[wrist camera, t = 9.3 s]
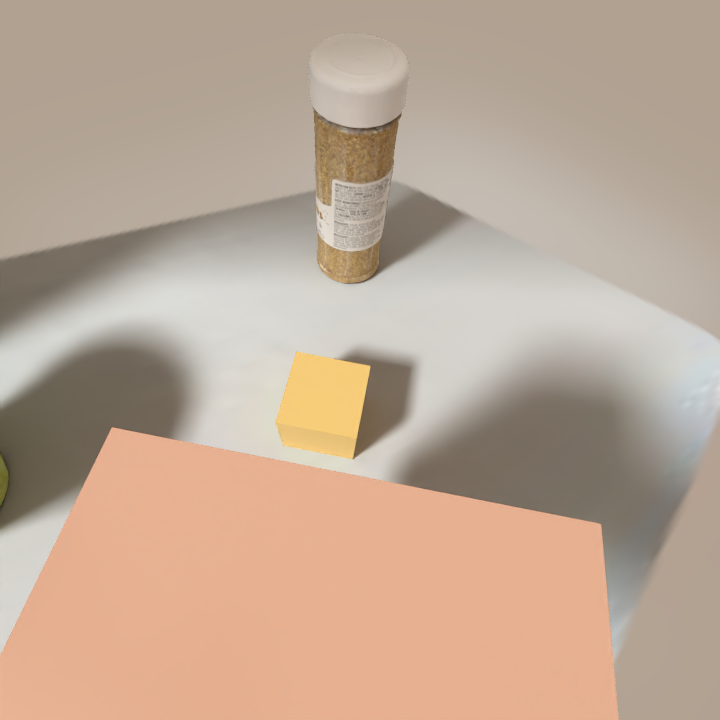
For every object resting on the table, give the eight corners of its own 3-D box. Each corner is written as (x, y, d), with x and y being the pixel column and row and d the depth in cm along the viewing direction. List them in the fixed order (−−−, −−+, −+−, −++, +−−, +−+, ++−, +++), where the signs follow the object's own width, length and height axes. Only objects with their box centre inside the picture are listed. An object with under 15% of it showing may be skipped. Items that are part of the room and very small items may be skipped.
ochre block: (283, 445, 24) (275, 422, 20) (300, 383, 26) (296, 351, 22) (352, 459, 24) (356, 438, 20) (365, 395, 26) (370, 365, 22)
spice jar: (318, 236, 31) (310, 24, 19) (379, 239, 31) (408, 32, 20) (315, 285, 29) (304, 81, 17) (380, 288, 29) (414, 88, 17)
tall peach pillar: (194, 751, 12) (-387, 1444, 2) (256, 530, 15) (112, 427, 5) (401, 798, 12) (713, 1785, 2) (424, 564, 15) (601, 523, 5)
